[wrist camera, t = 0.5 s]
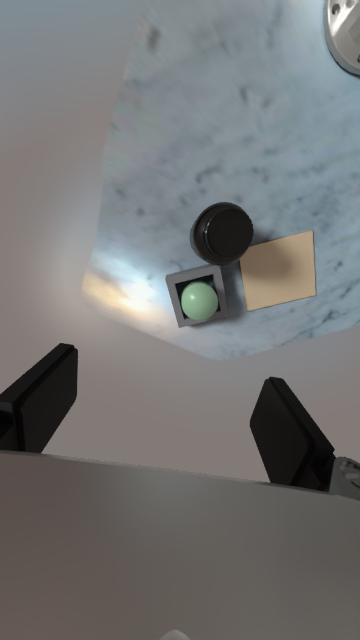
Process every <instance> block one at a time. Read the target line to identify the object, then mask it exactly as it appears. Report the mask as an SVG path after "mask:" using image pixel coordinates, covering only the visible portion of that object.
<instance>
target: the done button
mask: <svg viewBox="0 0 360 640" xmlns="http://www.w3.org/2000/svg"><path fill="white" fill-rule="evenodd" d="M217 307H218V297H217V295H216V293H215V291H214V290H213V288H212V287H211V286H210V285H209V284H208V283H206V282H204V281H194V282H191V283H189V284H188V285H187V286H186V287H185V288H184V290H183V292H182V308H183V311H184V312H185V314H186V315H187V316H188V317H190V318H192V319H194V320H205V319H207V318H209V317H211V316H212V315H213V314H214V313H215V311H216V310H217Z"/></svg>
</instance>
